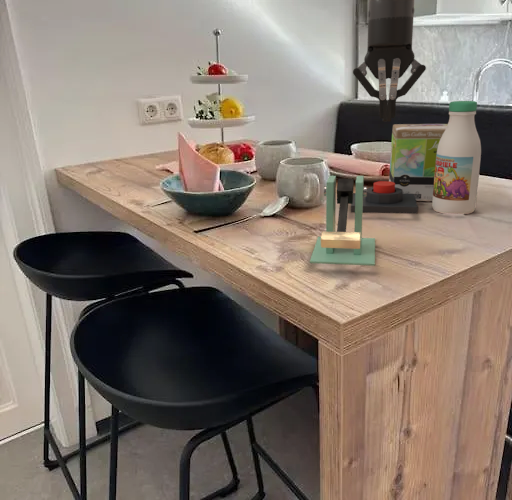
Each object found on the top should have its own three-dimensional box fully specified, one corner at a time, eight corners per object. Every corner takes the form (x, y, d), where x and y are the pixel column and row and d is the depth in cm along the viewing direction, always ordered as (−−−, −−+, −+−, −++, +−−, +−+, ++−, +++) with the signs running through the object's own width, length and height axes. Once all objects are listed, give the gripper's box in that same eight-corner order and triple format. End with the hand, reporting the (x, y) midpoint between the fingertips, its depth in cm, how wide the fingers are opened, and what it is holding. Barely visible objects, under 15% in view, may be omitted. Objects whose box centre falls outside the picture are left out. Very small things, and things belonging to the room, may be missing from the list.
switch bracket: (374, 271, 69) (378, 188, 65) (309, 268, 71) (309, 187, 67) (374, 245, 79) (377, 171, 75) (317, 243, 81) (317, 171, 77)
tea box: (391, 203, 102) (395, 129, 97) (388, 191, 111) (391, 123, 106) (469, 203, 100) (477, 127, 95) (459, 191, 109) (466, 121, 104)
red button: (394, 190, 98) (394, 181, 97) (395, 194, 94) (395, 185, 93) (373, 189, 99) (373, 181, 98) (373, 194, 95) (373, 185, 94)
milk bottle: (447, 202, 101) (456, 99, 94) (483, 210, 95) (496, 100, 88) (423, 210, 96) (431, 102, 90) (459, 218, 90) (470, 103, 84)
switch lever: (359, 251, 65) (360, 238, 63) (321, 250, 66) (320, 236, 64) (363, 191, 73) (363, 178, 71) (328, 191, 74) (328, 178, 72)
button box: (413, 204, 101) (414, 184, 99) (417, 218, 92) (418, 197, 90) (352, 203, 103) (353, 184, 102) (350, 216, 94) (351, 196, 93)
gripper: (429, 16, 87) (423, 118, 93) (352, 21, 90) (350, 120, 96) (433, 11, 80) (426, 122, 86) (350, 18, 83) (348, 124, 89)
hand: (386, 121), depth 91 cm, fingers closed
